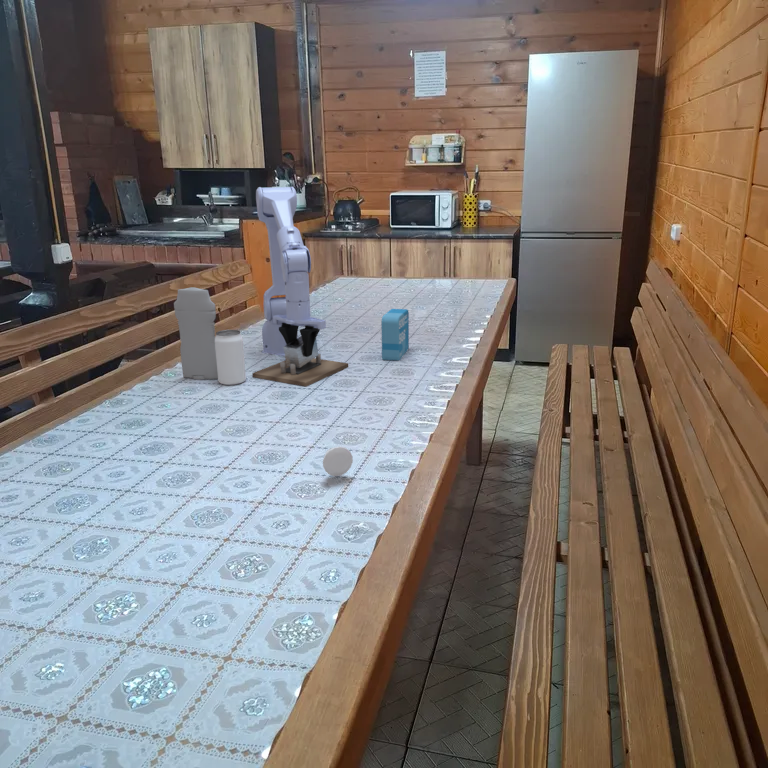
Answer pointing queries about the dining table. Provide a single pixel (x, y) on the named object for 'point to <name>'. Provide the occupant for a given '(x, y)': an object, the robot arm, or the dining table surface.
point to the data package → (395, 334)
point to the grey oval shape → (337, 461)
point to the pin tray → (301, 371)
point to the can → (230, 357)
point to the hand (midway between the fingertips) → (300, 354)
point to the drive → (298, 353)
